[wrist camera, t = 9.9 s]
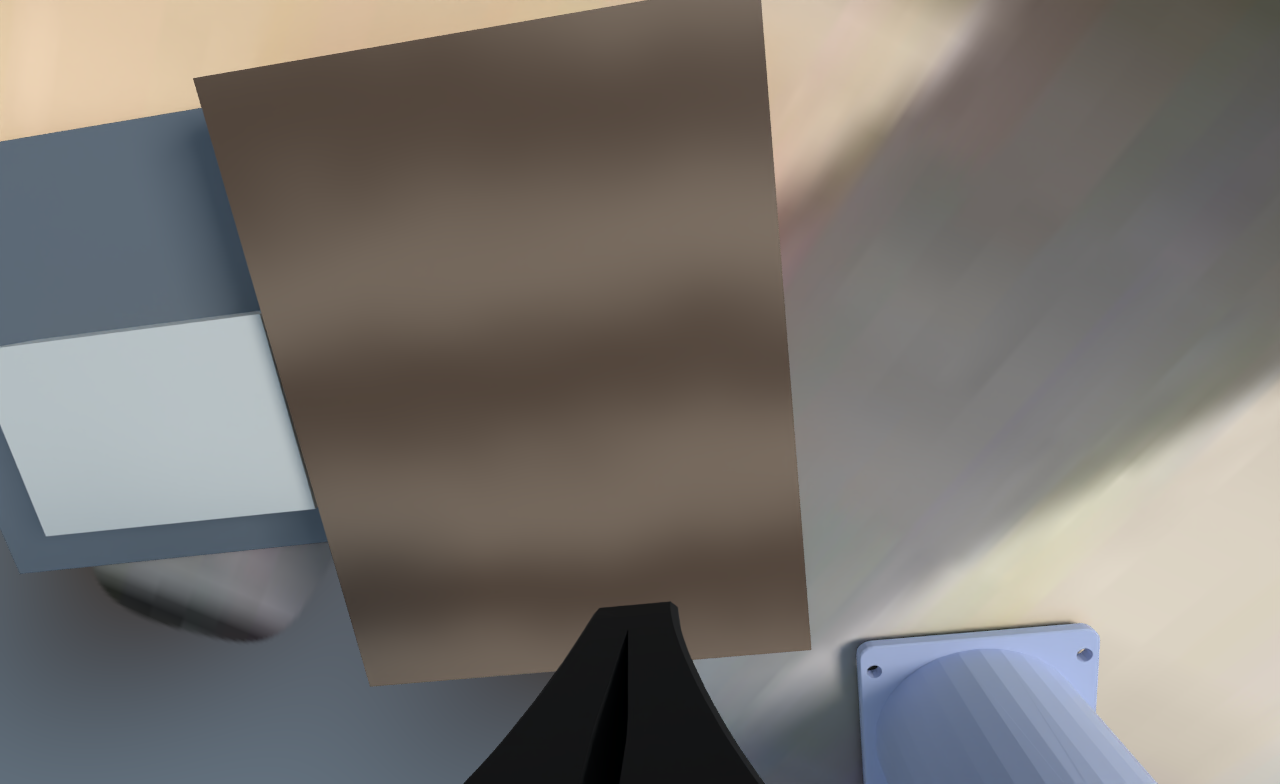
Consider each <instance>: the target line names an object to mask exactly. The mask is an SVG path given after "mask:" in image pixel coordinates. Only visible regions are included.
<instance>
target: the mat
mask: <svg viewBox="0 0 1280 784" xmlns="http://www.w3.org/2000/svg"><path fill="white" fill-rule="evenodd" d="M253 311H261V310H260V306H259V303H258V300H257V296H256V293H255V289H254V286H253V282H252V279H251V275H250V272H249V269H248V265H247V262H246V258H245V255H244V251H243V248H242V245H241V241H240V238H239V234H238V231H237V227H236V224H235V221H234V217H233V214H232V210H231V207H230V203H229V200H228V196H227V193H226V190H225V186H224V183H223V179H222V176H221V172H220V169H219V166H218V162H217V159H216V155H215V152H214V148H213V145H212V142H211V138H210V135H209V131H208V128H207V124H206V121H205V117H204V114H203V111H202V108H198V109H192V110H186V111H180V112H174V113H169V114H163V115H157V116H151V117H145V118H139V119H133V120H127V121H121V122H115V123H109V124H103V125H97V126H91V127H85V128H79V129H73V130H67V131H61V132H55V133H49V134H43V135H37V136H31V137H25V138H19V139H13V140H7V141H1V142H0V346H4V345H10V344H15V343H21V342H27V341H32V340H38V339H46V338H53V337H61V336H69V335H76V334H84V333H92V332H99V331H107V330H115V329H122V328H130V327H138V326H145V325H153V324H161V323H168V322H176V321H184V320H191V319H199V318H207V317H215V316H222V315H230V314H238V313H245V312H253ZM0 529H1V532H2V534H3V536H4V538H5V541H6V543H7V545H8V548H9V550H10V552H11V554H12V557H13V559H14V561H15V563H16V566H17V568H18V570H19V573H20V574H23V573H33V572H42V571H52V570H61V569H71V568H80V567H90V566H100V565H110V564H119V563H129V562H138V561H148V560H158V559H167V558H177V557H187V556H196V555H206V554H215V553H225V552H235V551H244V550H254V549H263V548H273V547H283V546H292V545H302V544H312V543H321V542H328V540H327V537H326V533H325V530H324V526H323V523H322V519H321V516H320V513H319V509H318V507H317V508H316V509H309V510H300V511H290V512H280V513H270V514H260V515H251V516H241V517H231V518H221V519H211V520H202V521H192V522H182V523H172V524H162V525H153V526H143V527H133V528H123V529H113V530H104V531H94V532H84V533H74V534H65V535H55V536H46V535H45V533H44V530H43V528H42V526H41V523H40V521H39V518H38V516H37V513H36V511H35V508H34V506H33V504H32V501H31V499H30V496H29V494H28V491H27V489H26V487H25V484H24V482H23V479H22V477H21V474H20V472H19V469H18V467H17V465H16V462H15V460H14V457H13V455H12V452H11V450H10V447H9V445H8V443H7V440H6V438H5V435H4V433H3V430H2V428H1V426H0Z"/></svg>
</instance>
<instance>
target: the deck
mask: <svg viewBox="0 0 1280 784" xmlns="http://www.w3.org/2000/svg"><path fill="white" fill-rule="evenodd" d="M193 80H194V83H195V87H196V90H197V93H198V97H199V100H200V104H201V107H202V111H203V114H204V117H205V121H206V124H207V128H208V131H209V135H210V138H211V142H212V145H213V148H214V152H215V155H216V159H217V162H218V166H219V169H220V172H221V176H222V179H223V183H224V186H225V190H226V193H227V196H228V200H229V203H230V207H231V210H232V214H233V217H234V221H235V224H236V227H237V231H238V234H239V238H240V241H241V245H242V248H243V251H244V255H245V258H246V262H247V265H248V269H249V272H250V275H251V279H252V282H253V286H254V289H255V293H256V296H257V300H258V303H259V306H260V310H261V313H262V317H263V320H264V324H265V327H266V330H267V334H268V337H269V341H270V344H271V348H272V351H273V354H274V358H275V361H276V365H277V368H278V372H279V375H280V379H281V382H282V385H283V389H284V392H285V396H286V399H287V403H288V406H289V409H290V413H291V416H292V420H293V423H294V427H295V430H296V433H297V437H298V440H299V444H300V447H301V451H302V454H303V458H304V461H305V464H306V468H307V471H308V475H309V478H310V482H311V485H312V488H313V492H314V495H315V499H316V502H317V506H318V509H319V513H320V516H321V519H322V523H323V526H324V530H325V533H326V537H327V540H328V543H329V547H330V550H331V554H332V557H333V561H334V564H335V567H336V571H337V574H338V578H339V581H340V585H341V588H342V592H343V595H344V598H345V602H346V605H347V608H348V612H349V616H350V619H351V622H352V625H353V629H354V632H355V636H356V640H357V643H358V646H359V650H360V653H361V657H362V660H363V663H364V667H365V671H366V674H367V677H368V681H369V684H370V686H383V685H395V684H407V683H419V682H431V681H442V680H455V679H467V678H478V677H490V676H503V675H515V674H527V673H539V672H550V671H557V669H558V668H559V666H560V665H561V664H562V662H563V661H564V659H565V658H566V656H567V655H568V653H569V652H570V650H571V649H572V647H573V646H574V644H575V643H576V641H577V640H578V638H579V637H580V635H581V633H582V632H583V630H584V629H585V627H586V626H587V624H588V623H589V621H590V619H591V618H592V616H593V615H594V613H595V612H596V611H597V610H598V609H599V608H603V607H614V606H625V605H636V604H647V603H658V602H669V601H671V602H672V603H673V604H675V605H676V606H677V607H678V611H679V618H680V626H681V631H682V634H683V637H684V640H685V643H686V646H687V649H688V651H689V654H690V656H691V659H692V660H695V659H707V658H719V657H731V656H743V655H755V654H767V653H779V652H791V651H804V650H811V640H810V627H809V614H808V601H807V588H806V575H805V562H804V549H803V536H802V523H801V510H800V498H799V485H798V472H797V459H796V446H795V433H794V420H793V407H792V394H791V381H790V369H789V356H788V343H787V330H786V317H785V304H784V291H783V278H782V265H781V252H780V239H779V227H778V214H777V201H776V188H775V175H774V162H773V149H772V136H771V123H770V110H769V97H768V85H767V72H766V59H765V46H764V33H763V20H762V7H761V0H646V1H640V2H634V3H629V4H623V5H617V6H611V7H605V8H599V9H594V10H588V11H582V12H576V13H570V14H565V15H559V16H553V17H547V18H541V19H536V20H530V21H524V22H518V23H512V24H506V25H501V26H495V27H489V28H483V29H477V30H472V31H466V32H460V33H454V34H448V35H442V36H437V37H431V38H425V39H419V40H413V41H408V42H402V43H396V44H390V45H384V46H379V47H373V48H367V49H361V50H355V51H349V52H344V53H338V54H332V55H326V56H320V57H315V58H309V59H303V60H297V61H291V62H286V63H280V64H274V65H268V66H262V67H256V68H251V69H245V70H239V71H233V72H227V73H222V74H216V75H210V76H204V77H198V78H193Z"/></svg>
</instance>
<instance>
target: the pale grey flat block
mask: <svg viewBox="0 0 1280 784" xmlns="http://www.w3.org/2000/svg"><path fill="white" fill-rule="evenodd" d="M0 426H1V428H2V430H3V433H4V435H5V438H6V440H7V443H8V445H9V447H10V450H11V452H12V455H13V457H14V460H15V462H16V465H17V467H18V469H19V472H20V474H21V477H22V479H23V482H24V484H25V487H26V489H27V491H28V494H29V496H30V499H31V501H32V504H33V506H34V508H35V511H36V513H37V516H38V518H39V521H40V523H41V526H42V528H43V530H44V533H45V535H46V536H55V535H65V534H74V533H84V532H94V531H104V530H113V529H123V528H133V527H143V526H153V525H162V524H172V523H182V522H192V521H202V520H211V519H221V518H231V517H241V516H251V515H260V514H270V513H280V512H290V511H300V510H309V509H316V508H317V507H318V506H317V502H316V499H315V495H314V492H313V488H312V485H311V482H310V478H309V475H308V471H307V468H306V464H305V461H304V458H303V454H302V451H301V447H300V444H299V440H298V437H297V433H296V430H295V427H294V423H293V420H292V416H291V413H290V409H289V406H288V403H287V399H286V396H285V392H284V389H283V385H282V382H281V379H280V375H279V372H278V368H277V365H276V361H275V358H274V354H273V351H272V348H271V344H270V341H269V337H268V334H267V330H266V327H265V324H264V320H263V317H262V313H261V311H253V312H245V313H238V314H230V315H222V316H215V317H207V318H199V319H191V320H184V321H176V322H168V323H161V324H153V325H145V326H138V327H130V328H122V329H115V330H107V331H99V332H92V333H84V334H76V335H69V336H61V337H53V338H46V339H38V340H32V341H27V342H21V343H15V344H10V345H4V346H0Z"/></svg>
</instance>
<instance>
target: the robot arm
mask: <svg viewBox="0 0 1280 784" xmlns="http://www.w3.org/2000/svg"><path fill="white" fill-rule="evenodd" d="M1084 648H1085V649H1084ZM1081 649H1084V651H1083V652H1081V653H1079V654H1077V653H1078V652H1079V651H1080V650H1081ZM1099 649H1100V638H1099V635H1098V633H1097V632H1096V631H1095V630H1094V629H1093V628H1092V627H1091V626H1089V625H1087V624H1083V623H1076V624H1064V625H1052V626H1040V627H1028V628H1016V629H1004V630H993V631H981V632H969V633H957V634H945V635H933V636H921V637H909V638H897V639H885V640H873V641H867V642H864V643H863V644H861V645H860V646H859V647H858V649H857V653H856V657H857V675H858V693H859V711H860V729H861V746H862V764H863V782H864V784H1158V783H1157V782H1156V781H1155V780H1154V779H1153V778H1152V777H1151V775H1150V774H1149V773H1148V772H1147V771H1146V770H1145V769H1144V767H1143V766H1142V765H1141V764H1140V763H1139V762H1138V761H1137V759H1136V758H1135V757H1134V756H1133V755H1132V754H1131V753H1130V751H1129V750H1128V749H1127V748H1126V747H1125V746H1124V745H1123V743H1122V742H1121V741H1120V740H1119V739H1118V738H1117V736H1116V735H1115V734H1114V733H1113V732H1112V731H1111V730H1110V728H1109V727H1108V726H1107V725H1106V724H1105V723H1104V722H1103V720H1102V719H1101V718H1100V717H1099V716H1098V715H1097V714H1096V700H1097V683H1098V666H1099ZM873 665H876V666H878V667H877V668H876V669H874V670H867V669H868V668H869V667H870V666H873ZM464 784H765V783H764V782H763V781H762V779H761V778H760V777H759V775H758V774H757V772H756V771H755V769H754V768H753V766H752V765H751V764H750V762H749V761H748V759H747V758H746V756H745V755H744V753H743V752H742V750H741V749H740V747H739V746H738V744H737V743H736V741H735V740H734V738H733V736H732V735H731V733H730V731H729V730H728V728H727V727H726V725H725V723H724V721H723V720H722V718H721V716H720V714H719V713H718V711H717V709H716V707H715V706H714V704H713V702H712V700H711V698H710V696H709V694H708V692H707V691H706V689H705V687H704V684H703V682H702V680H701V678H700V676H699V674H698V672H697V670H696V668H695V665H694V663H693V661H692V659H691V656H690V654H689V651H688V649H687V646H686V643H685V640H684V637H683V634H682V631H681V626H680V618H679V611H678V607H677V606H676V605H675V604H673V603H672V602H671V601H669V602H658V603H647V604H636V605H625V606H614V607H603V608H599V609H598V610H597V611H596V612H595V613H594V615H593V616H592V618H591V619H590V621H589V623H588V624H587V626H586V627H585V629H584V630H583V632H582V633H581V635H580V637H579V638H578V640H577V641H576V643H575V644H574V646H573V647H572V649H571V650H570V652H569V653H568V655H567V656H566V658H565V659H564V661H563V662H562V664H561V665H560V666H559V668H558V669H557V671H556V672H555V673H554V675H553V676H552V678H551V679H550V680H549V682H548V683H547V685H546V686H545V687H544V689H543V690H542V692H541V693H540V694H539V696H538V697H537V698H536V700H535V701H534V702H533V703H532V705H531V706H530V707H529V708H528V710H527V711H526V712H525V713H524V715H523V716H522V717H521V718H520V720H519V721H518V722H517V724H516V725H515V726H514V727H513V729H512V730H511V731H510V732H509V734H508V735H507V736H506V737H505V738H504V739H503V741H502V742H501V743H500V744H499V745H498V746H497V748H496V749H495V750H494V751H493V752H492V754H490V756H489V757H488V758H487V759H486V760H485V761H484V762H483V763H482V764H481V766H480V767H479V768H478V769H477V770H476V771H475V772H474V773H473V774H472V775H471V776H470V777H469V778H468V779H467V780H466V782H464Z"/></svg>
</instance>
